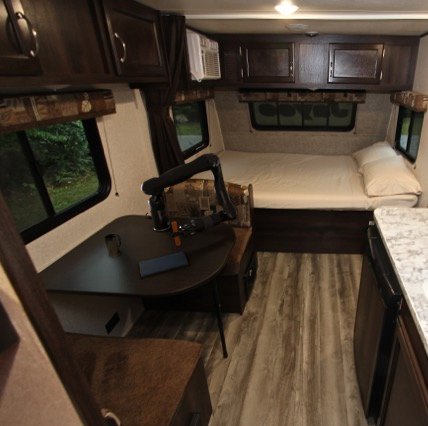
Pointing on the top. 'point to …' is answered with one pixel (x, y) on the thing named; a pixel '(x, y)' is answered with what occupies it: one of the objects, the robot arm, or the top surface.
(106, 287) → the top surface
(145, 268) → the tablet
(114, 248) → the mug
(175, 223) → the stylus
